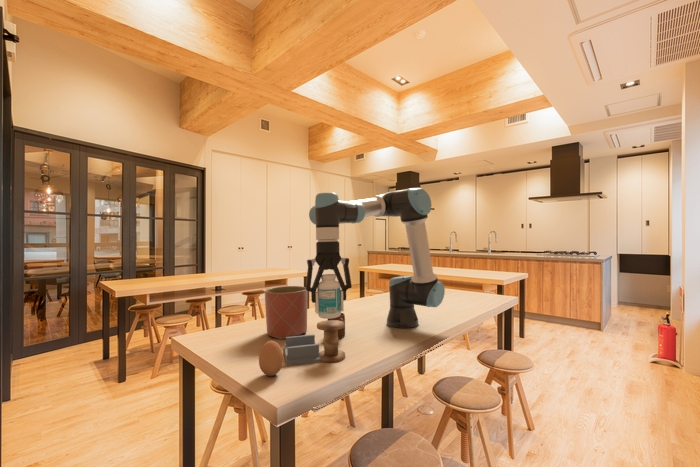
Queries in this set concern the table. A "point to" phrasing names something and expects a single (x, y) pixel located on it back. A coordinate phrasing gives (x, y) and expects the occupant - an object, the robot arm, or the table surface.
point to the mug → (342, 331)
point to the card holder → (301, 350)
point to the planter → (286, 311)
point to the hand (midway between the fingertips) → (329, 311)
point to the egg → (271, 358)
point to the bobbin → (331, 341)
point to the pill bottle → (329, 297)
